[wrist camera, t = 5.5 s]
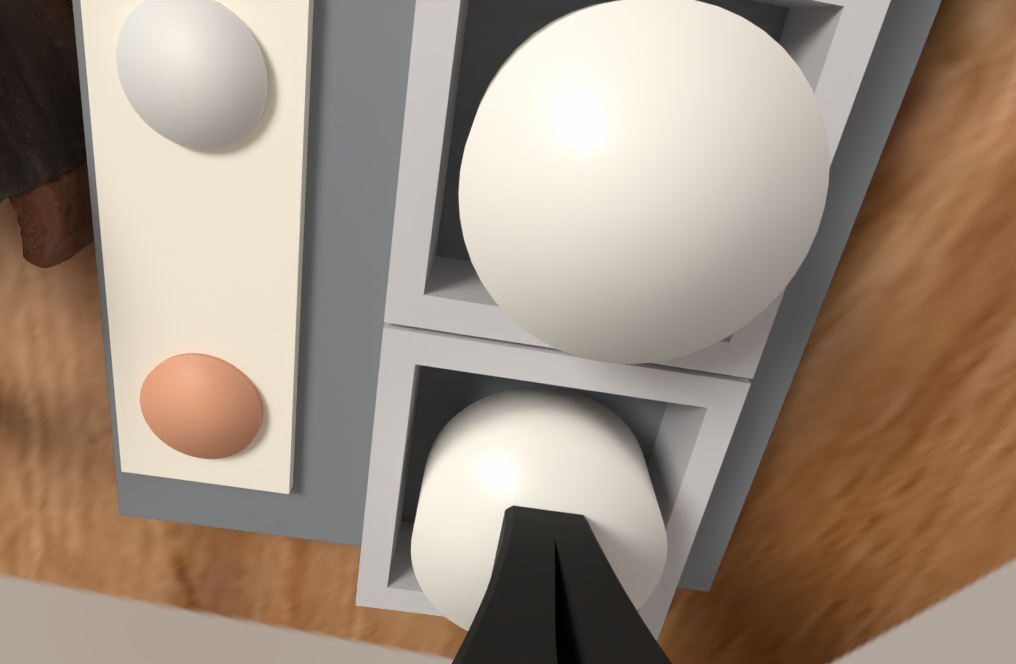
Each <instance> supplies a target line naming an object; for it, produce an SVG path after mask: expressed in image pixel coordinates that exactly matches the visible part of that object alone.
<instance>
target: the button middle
mask: <svg viewBox="0 0 1016 664" xmlns="http://www.w3.org/2000/svg"><path fill="white" fill-rule="evenodd" d="M828 185H829V150H828V140H827V133H826V129H825V125H824V121H823V117H822V113H821V110H820V107H819V105H818V102H817V100H816V97H815V95H814V92H813V90H812V88H811V86H810V85H809V83H808V81H807V79H806V78H805V76H804V74H803V73H802V71H801V69H800V68H799V66H798V65H797V64H796V63H795V61H794V60H793V59H792V58H791V57H790V55H789V54H788V53H787V52H786V51H785V49H784V48H783V47H782V46H781V45H779V44H778V43H777V42H776V41H775V40H774V39H773V38H772V37H770V36H769V35H768V34H767V33H766V32H765V31H763V30H762V29H760V28H759V27H757V26H756V25H754V24H753V23H751V22H749V21H748V20H746V19H745V18H743V17H741V16H739V15H737V14H734V13H732V12H730V11H728V10H725V9H723V8H721V7H718V6H715V5H711V4H707V3H704V2H700V1H696V0H619V1H612V2H606V3H601V4H595V5H591V6H588V7H585V8H582V9H579V10H575V11H572V12H570V13H568V14H566V15H564V16H562V17H560V18H558V19H556V20H554V21H552V22H550V23H548V24H547V25H545V26H544V27H542V28H541V29H539V30H538V31H536V32H535V33H533V34H532V35H531V36H530V37H529V38H528V39H527V40H525V41H524V42H523V43H522V44H521V45H520V46H519V47H517V48H516V49H515V51H514V52H513V53H512V54H511V55H510V56H509V57H508V59H507V60H506V61H505V62H504V63H503V64H502V66H501V67H500V69H499V70H498V72H497V73H496V75H495V76H494V78H493V79H492V81H491V82H490V84H489V86H488V88H487V90H486V92H485V94H484V96H483V98H482V100H481V102H480V105H479V108H478V110H477V113H476V116H475V119H474V122H473V125H472V128H471V131H470V134H469V136H468V139H467V142H466V145H465V149H464V154H463V159H462V164H461V169H460V180H459V194H458V195H459V212H460V221H461V226H462V231H463V237H464V241H465V244H466V247H467V250H468V253H469V256H470V259H471V262H472V264H473V266H474V268H475V270H476V272H477V274H478V276H479V278H480V280H481V282H482V283H483V285H484V286H485V288H486V289H487V291H488V292H489V294H490V295H491V297H492V298H493V300H494V301H495V302H496V303H497V304H498V305H499V306H500V308H501V309H502V310H503V311H504V312H505V313H506V314H507V315H508V316H509V317H510V318H511V319H512V320H513V321H514V322H516V323H517V324H518V325H519V326H520V327H521V328H522V329H524V330H525V331H527V332H528V333H530V334H531V335H533V336H534V337H536V338H537V339H539V340H540V341H542V342H544V343H546V344H548V345H550V346H552V347H554V348H556V349H558V350H560V351H563V352H566V353H569V354H572V355H574V356H577V357H580V358H585V359H590V360H594V361H599V362H607V363H617V364H641V363H651V362H658V361H665V360H669V359H673V358H677V357H681V356H685V355H688V354H691V353H693V352H696V351H699V350H701V349H704V348H707V347H709V346H711V345H713V344H715V343H717V342H719V341H721V340H723V339H725V338H726V337H728V336H730V335H731V334H733V333H734V332H736V331H737V330H739V329H740V328H742V327H744V326H745V325H747V324H748V323H749V322H750V321H752V320H753V319H754V318H755V317H756V316H758V315H759V314H760V313H761V312H762V311H764V310H765V309H766V308H767V307H768V306H769V305H770V304H771V303H772V301H773V300H774V299H775V298H776V297H777V296H778V295H779V294H780V293H781V292H782V291H783V289H784V288H785V287H786V285H787V284H788V283H789V282H790V280H791V279H792V278H793V276H794V275H795V274H796V272H797V270H798V269H799V267H800V265H801V264H802V262H803V260H804V259H805V257H806V255H807V254H808V251H809V249H810V247H811V245H812V242H813V240H814V238H815V236H816V233H817V231H818V228H819V225H820V221H821V218H822V215H823V211H824V208H825V202H826V196H827V191H828Z"/></svg>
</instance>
